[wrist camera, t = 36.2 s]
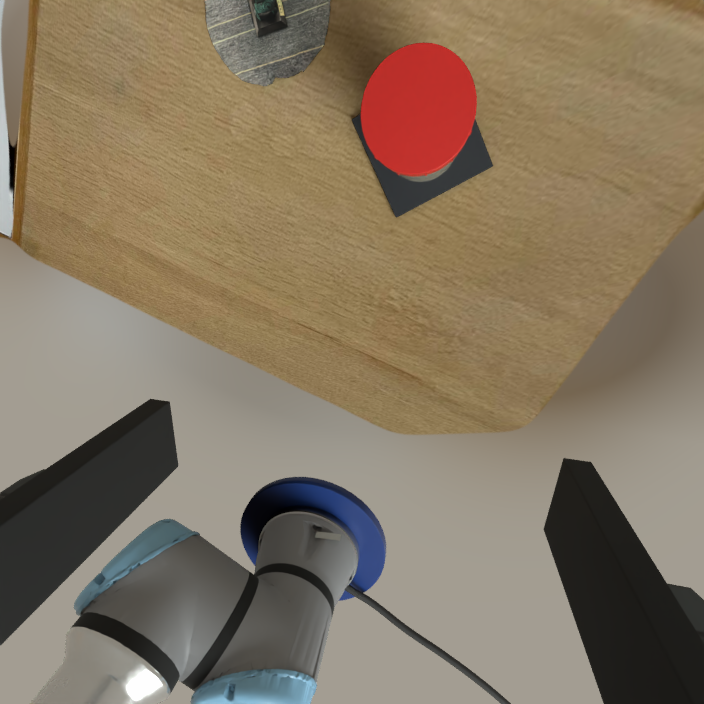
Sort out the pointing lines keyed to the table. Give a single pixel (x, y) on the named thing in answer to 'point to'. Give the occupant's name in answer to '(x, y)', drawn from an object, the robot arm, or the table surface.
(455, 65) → the lid
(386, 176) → the mat
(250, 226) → the table surface
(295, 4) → the sculpture
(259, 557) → the robot arm
